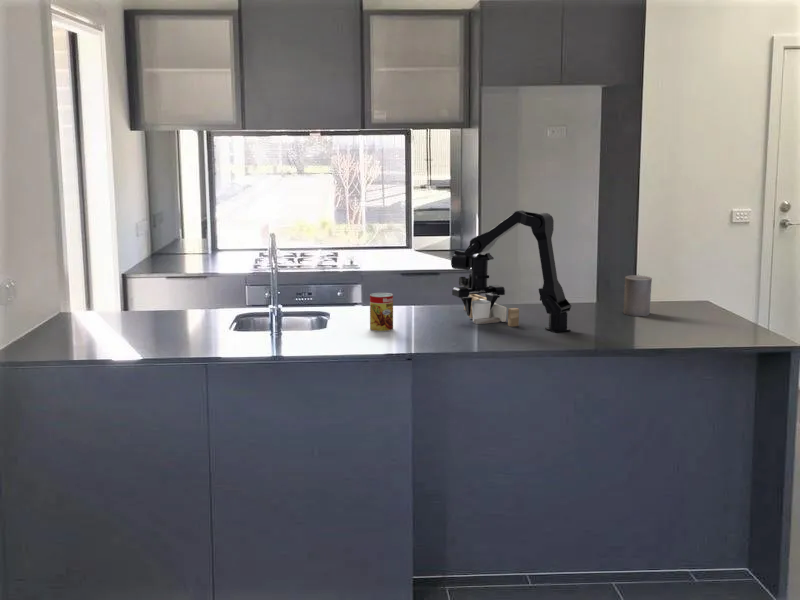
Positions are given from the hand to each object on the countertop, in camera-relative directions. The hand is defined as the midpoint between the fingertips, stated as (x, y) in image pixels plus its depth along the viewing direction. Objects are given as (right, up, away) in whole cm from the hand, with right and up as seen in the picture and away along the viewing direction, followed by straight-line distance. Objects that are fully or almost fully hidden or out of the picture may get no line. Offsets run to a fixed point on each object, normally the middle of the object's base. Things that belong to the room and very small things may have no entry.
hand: (477, 315), depth 337 cm
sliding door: (+2, -1, +3) cm, 4 cm away
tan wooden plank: (+1, -1, +4) cm, 4 cm away
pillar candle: (+60, 0, +13) cm, 61 cm away
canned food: (-34, -5, -15) cm, 37 cm away
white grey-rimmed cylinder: (+1, -2, 0) cm, 2 cm away
